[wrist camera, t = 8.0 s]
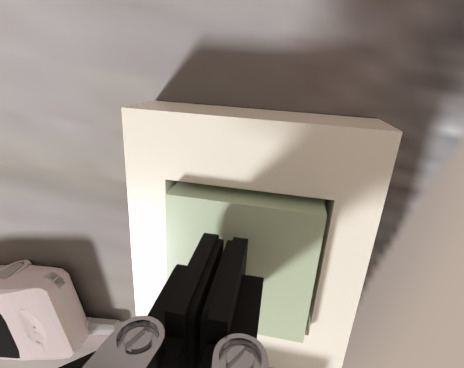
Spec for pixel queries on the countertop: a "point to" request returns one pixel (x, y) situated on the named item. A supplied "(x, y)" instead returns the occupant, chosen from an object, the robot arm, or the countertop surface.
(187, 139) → the keypad
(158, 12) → the countertop surface
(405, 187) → the countertop surface
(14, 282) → the mobile phone
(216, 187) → the key sage
